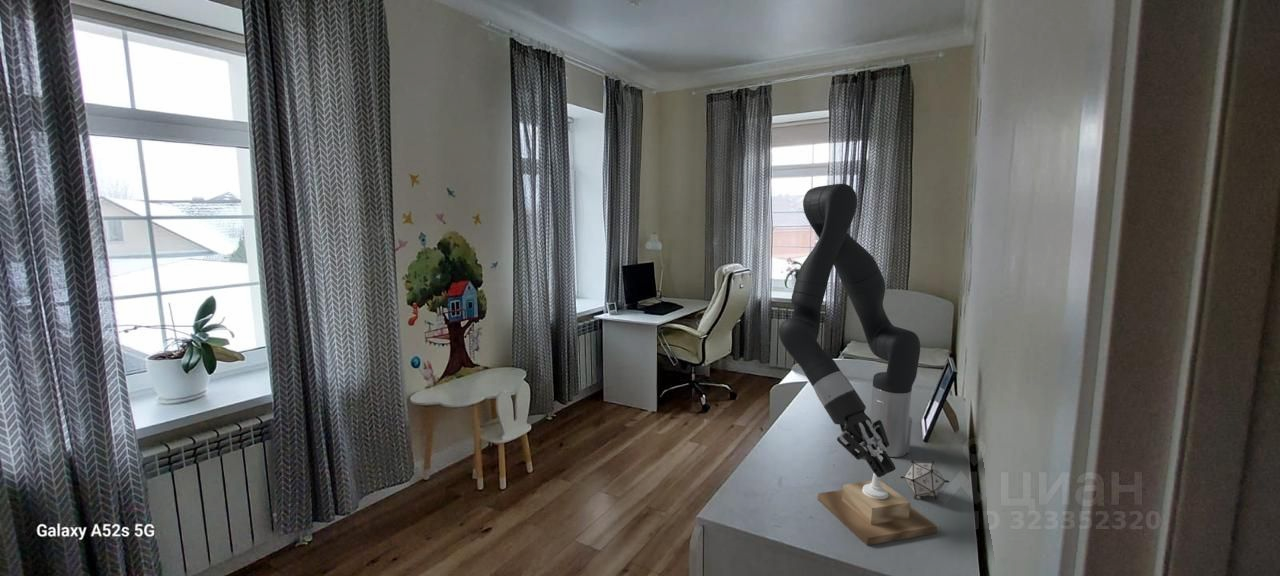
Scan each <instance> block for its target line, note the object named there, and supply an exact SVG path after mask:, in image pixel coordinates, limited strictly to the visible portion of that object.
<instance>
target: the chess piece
mask: <svg viewBox="0 0 1280 576" xmlns="http://www.w3.org/2000/svg"><path fill="white" fill-rule="evenodd" d="M873 451H874V452H875V453H876V454H875V456H877V457H878V458H879V460H880V462H882V460H883V457H882V456H881V455H879V453H883V451H882V450H880V448H879V447H877V450H873ZM871 481H872V482H871V483H870V484H866V485H864V486H863V489H862V492H863V493H864V494H865V495H866V496H868V497H870V498H874V499H886V498H887V497H888V491H887V490H886V489H885V488H884V487H882V486H881V485H880V481H881V477H877V476H876V474H875V473H874V472H873V475H872V479H871Z"/></svg>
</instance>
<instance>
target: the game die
mask: <svg viewBox="0 0 1280 576" xmlns="http://www.w3.org/2000/svg"><path fill="white" fill-rule="evenodd" d="M910 462H911V465H910V467H909V468H908V470H907V471H906V473H905V475H904V476H903V475H900V476H899V478H900V479H904V481H905V482H906V483H907V484H908V487H910V489H911V491H912V492H913V493H914V495H913V500H915V499H917V497H919V496H920V497H934V498H935V499H936V500H939V497H938V493H939V491H940V490H942V488H943V486H944V484H945V483H950V481H949V480H947V479H945V478H944V477H943V476H942V474H941V473H940V471H939V470H938V468H937V467H936V466H935V464H934V463H935V459H933V460H931V462H914V460H913V459H910Z"/></svg>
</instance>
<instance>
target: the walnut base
mask: <svg viewBox="0 0 1280 576" xmlns="http://www.w3.org/2000/svg"><path fill="white" fill-rule="evenodd" d="M871 482H872V480H868V481H867V480H866V481H860V482H853V483H848V484H847V483H846V484H843V485H842V489H841V490H833V491H825V492H819V493H817V501H819V503H821V504H822V505H823V506H824V507H825V508H826V509H827V510H828V511H829V512H830V513H831V514H832V515H834V517H836V519H838V520H839V521H840V522H842V523H843V525H844V526H846V527H847V528H848V529H849V530H850V531H851V532H852V533H853V535H855V536H856V537H857V538H858V539H859V540H860V541H861V542H863V544H865V545H866V546H870V545H876V544H882V543H887V542H888V543H889V542H893V541H899V540H903V539H909V538H910V539H911V538H917V537H922V536H927V535H934V534H937V528H938V526H937V525H936V524H935V523H933V522H932V521H931V520H929V519H928V518H927V517H926V516H924V515H923V514H922V513H920V512H918V511H917V510H916V509H915V508H913V507H912V506H911V501H910V500H908V499H907V498H905V497H904V496H902V495H901V494H900V493H898V492H897V491H896V490H894V489H893V488H891V487H890V486H888V485H887V484H886V483H884V482H883V481H882V480H880V485H881V486H882V487H884V488H885V489H886V490H887V491H888V497H887V498H886V499H874V498H870V497H868V496H866V495H865V494H864V493H863V492H862V489H863V486H864V485H866V484H870V483H871Z"/></svg>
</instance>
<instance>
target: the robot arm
mask: <svg viewBox="0 0 1280 576" xmlns="http://www.w3.org/2000/svg"><path fill="white" fill-rule="evenodd" d="M802 206H803V207H802V208H803V213H804V216H805V217H806V220H807V221H808V223H809V225H810V226H811V228H812V229H813V231H814V233H815V234H816V236H817V237H818V240H817V242H816V243H815V244H814V247H813V249H812V250H811V251H810V253H809V254H808V255H807V257H806V258H805V259H804V261H803V263H802V264H801V266H800V268H799V269H798V272H797V276H796V277H795V282H794V286H793V291H792V295H791V299H790V300H791V305H792V306H793V312H792V317H790V318H787V319H785V320H784V321H782V323H781V324H780V325H779V328H778V337H779V340H780V343H781V345H782V346H784V349H785V350H786V351H787V352H788V354H789V355H790V356H791V357H792V359H793V360H794V361H795V363H797V365H798V366H799V367H800V369H801V370H802V371H803V373H804V375H805V376H806V378H807V380H808V381H809V383H810V384H811V386H812V388H813V390H814V392H815V394H816V397H817V399H818V400H819V401H820V403H821V405H822V406H823V408H824V409H825V410H826V411H825V412H826V413H827V414H828V417H830V419H831V420H832V422H833V424H834V425H839V427H840V430H841V431H840V432H842V433H841V435H839V436H837V437H836V440H837V443H839V444H840V445H841V446H842V447H844V449H845V450H847V451H848V452H849V453H850V454H851V455H852V456H853V457H854V458H855V459H856V460H857V461H860V460H864V461H866V462H867V464H868V465H869V467H870V469H871V470H872V471H873V473H875V474H876V476H877V477H880V478H881V477H883V476H885V475H887V474H890V473H891V472H893V471H895V470H896V469H897V468H896V466H895V464H894V462H893V461H892V459H891V458H900V457H901V458H902V457H903V456H905V455H906V453H910V446H911V437H912V436H911V434H912V426H913V418H912V417H911V416H910V414H911V412H910V411H911V403H912V401H911V400H912V390H913V385H914V383H915V381H916V378H917V375H918V374H917V373H918V367H919V362H920V354H921V342H920V341H921V340H920V338H919V336H918V335H917V334H916V333H915V332H914V331H912V330H908V329H905V328H901V327H899V326H895V325H894V324H893V323H892V322H891V320H890V319H889V317H888V316H887V313H886V311H885V308H884V304H883V303H884V300H885V299H884V298H885V294H886V282H885V278H884V276H883V274H882V272H881V270H880V268H879V267H880V266H879V265H878V263H877V261H876V260H875V258H874V257H873V255H872V254H870V252H869V251H867V250H866V249H865V248H864V247H863V245H862V244H859V243H858V241H856V240H855V239H854V237H852V236H851V235H850V234H849V233H848V232H849V229H850V227H851V224H852V222H853V220H854V217H855V215H856V212H857V208H858V196H857V193H856V191H855V189H854V188H853V187H852V186H851V185H849V184H846V183H835V184H834V183H833V184H828V185H827V184H826V185H820V186H815V187H812V188H810V189H809V190H807V192H806V193H805V195H804V197H803V201H802ZM833 267H834V268H835V271H836V272H837V274H838V277H839V280H840V282H841V284H842V286H843V288H844V290H845V292H846V294H847V295H848V296H847V297H848V298H849V300H850V302H851V303H852V304H851V305H852V306H853V308H854V310H855V312H856V315H857V317H858V319H859V321H860V324H861V327H862V330H863V332H864V336H865V339H866V342H867V344H868V347H869V350H870V351H871V352H872V354H873V355H874V356H876V357H877V358H879V359H881V360H883V361H887V369H886V371H881V372H877V373H875V374H874V375H873V377H872V388H871V399H870V400H871V401H870V402H871V403H870V411H869V412H870V413H869V414H870V415H869V416H868V415H867V414H866V413H865V411H866V409H867V407H866V405H865V403H864V402H863V400H862V399H861V397H860V395H859V394H858V392H857V391H856V389H855V388H854V386H853V385H852V384H851V382H850V381H849V379H848V378H847V376H846V375H844V373H843V371H841V369H840V367H839V366H838V365H837V363H836V361H835V360H834V359H833V357H832V356H831V355H830V353H829V352H827V351H826V350H825V349H823V348H822V347H821V345H820V344H819V342H818V341H817V340H818V339H819V335H820V329H821V319H822V306H823V303H824V299H825V295H826V290H827V287H828V283H829V279H830V275H831V273H832V270H833ZM877 447H879V448H880V450H882V451H883V453H879V455H881V456H882V457H883V460H882V462H880V460H879V458H878V457H877V456H875V454H876V453H875V452H874V451H873V450H877Z"/></svg>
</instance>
